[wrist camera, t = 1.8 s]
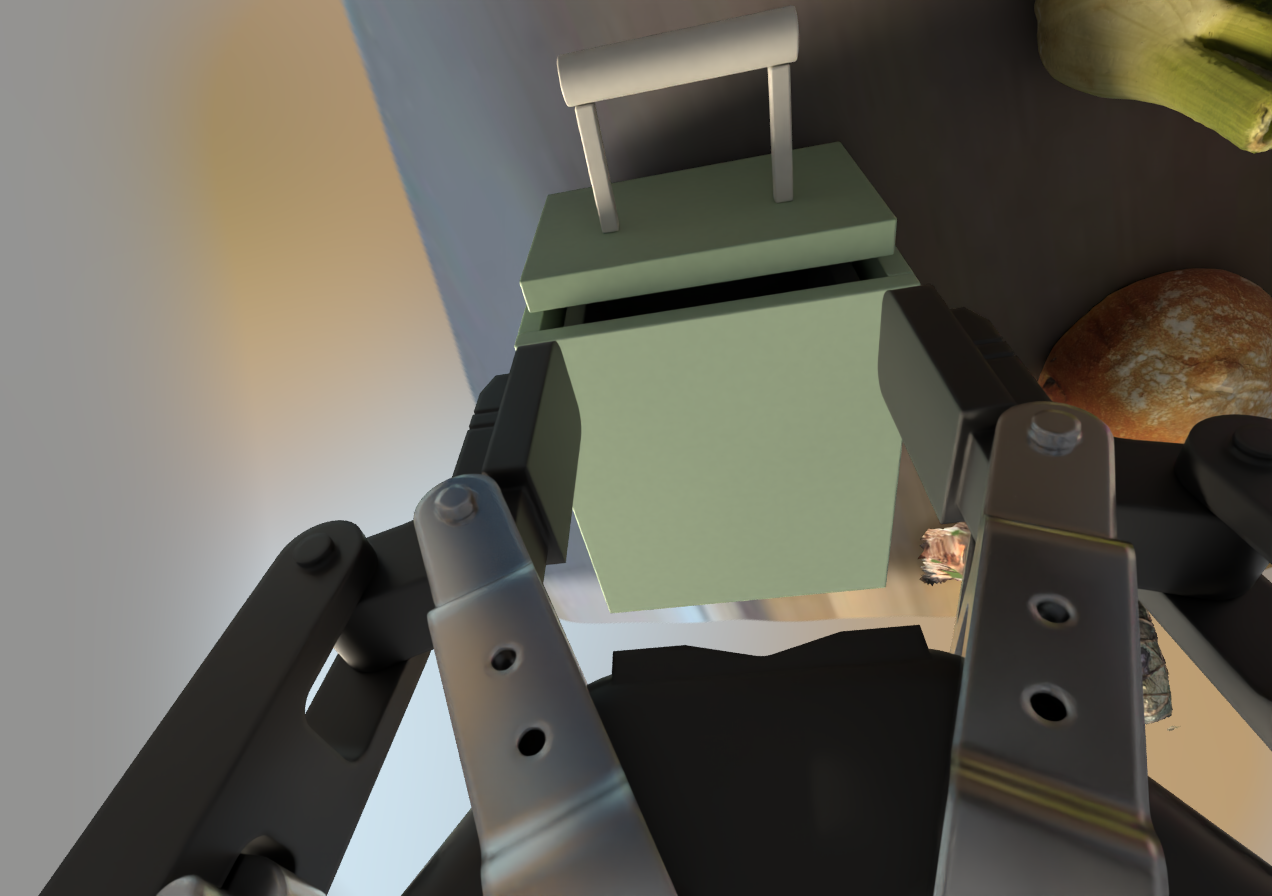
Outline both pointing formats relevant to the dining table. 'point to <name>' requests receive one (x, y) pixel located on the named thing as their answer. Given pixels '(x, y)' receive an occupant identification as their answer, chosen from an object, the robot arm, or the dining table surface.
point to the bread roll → (1168, 355)
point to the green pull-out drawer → (700, 192)
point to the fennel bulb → (1169, 57)
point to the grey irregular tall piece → (950, 560)
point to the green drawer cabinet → (735, 444)
